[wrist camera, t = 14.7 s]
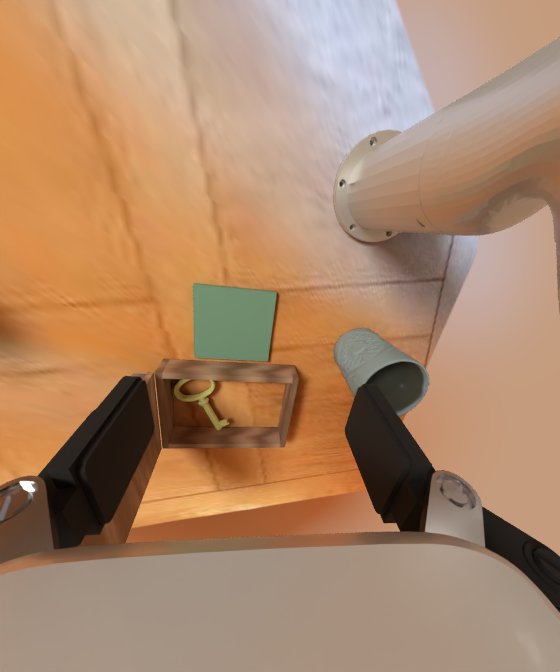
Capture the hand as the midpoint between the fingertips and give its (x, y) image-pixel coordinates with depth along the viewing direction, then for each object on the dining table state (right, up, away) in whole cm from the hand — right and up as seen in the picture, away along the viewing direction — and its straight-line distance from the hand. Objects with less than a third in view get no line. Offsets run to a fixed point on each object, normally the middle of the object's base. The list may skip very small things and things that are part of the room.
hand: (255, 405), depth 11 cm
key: (-8, -9, +34) cm, 36 cm away
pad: (-6, +5, +27) cm, 28 cm away
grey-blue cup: (+15, +1, +32) cm, 35 cm away
